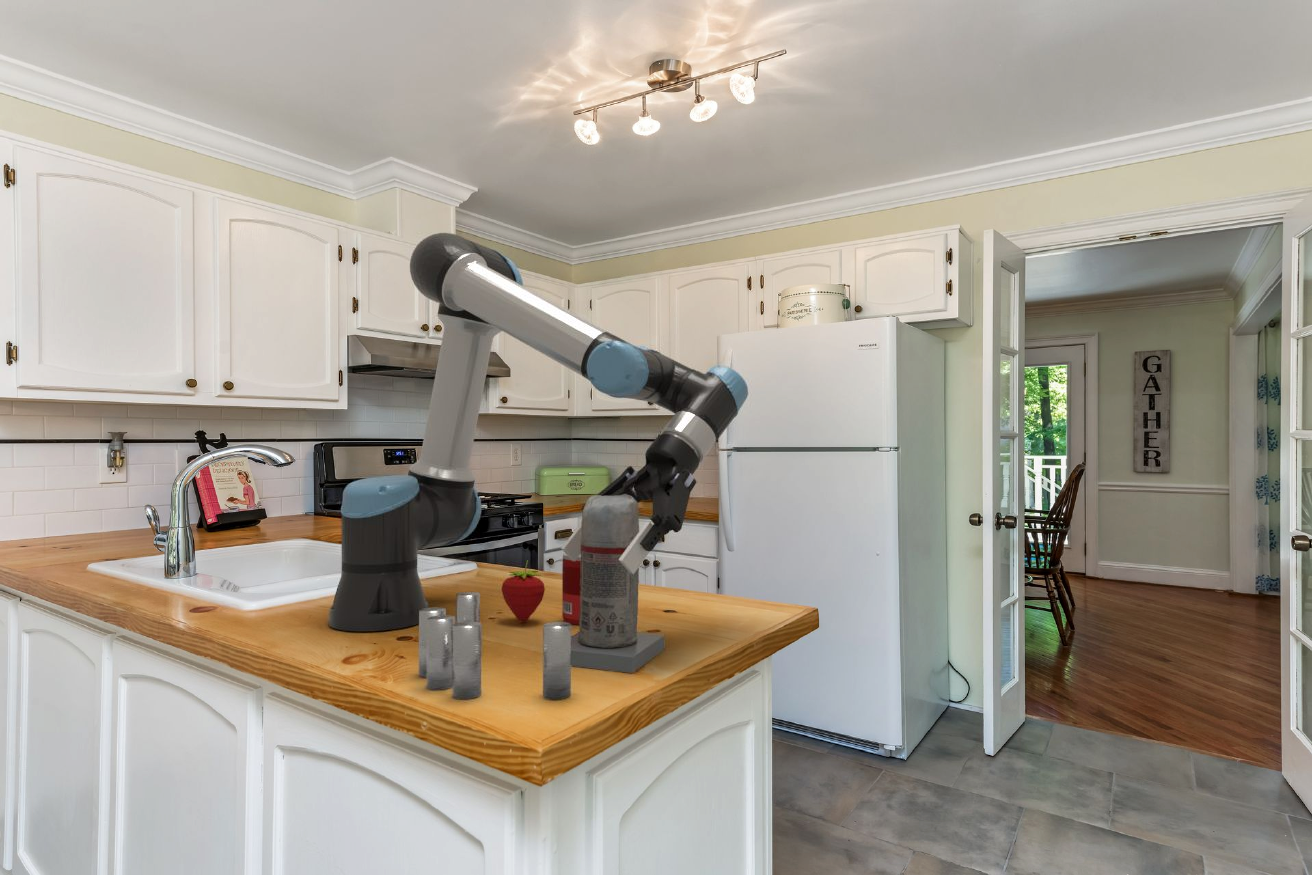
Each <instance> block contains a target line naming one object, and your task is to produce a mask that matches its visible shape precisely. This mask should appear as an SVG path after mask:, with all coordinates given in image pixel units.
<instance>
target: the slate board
mask: <svg viewBox="0 0 1312 875" xmlns="http://www.w3.org/2000/svg"><path fill="white" fill-rule="evenodd" d="M636 635H637V641H635V643H633V644H630V645H627V646H624V647H610V648H606V647H604V648H602V647H595V646H588V645H587V644H586V645H585V644H583V643H581V642H580V641H579V640H578V637H579V631H578V632H577V633H575V634H573V635H571V667H578V668H584V669H585V668H586V669H592V670H593V669H595V670H603V671H612V672H618V673H619V672H621V673H628V674H633V673H635V672H636V671H638V670H639V669H640V668H642V667H643V666H644V665H645V664H647V663H648V662H650V661H651V660H652V659H654V658H656V656H658V655H659V654H660V653H662V652H663V651H665V647H666V646H665V644H666V643H665V642H666V641H665V639H666V638H665V637H666V636H665V634H655V633H649V632H648V633H646V632H637V633H636Z"/></svg>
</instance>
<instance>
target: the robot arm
mask: <svg viewBox="0 0 1312 875" xmlns="http://www.w3.org/2000/svg"><path fill="white" fill-rule="evenodd" d="M409 272H410V277H411V280H412V282H413V284H414V286H415V288H416V289H417V290H418V291H419V292H420V293H421V295H423V296H424V297H425V298H427V299H429V300H431V301H433V302H435V303H438V310H437V315H436V316H437V317H438V319H439V320H440V323H442V325H443V333H442V336H441V337H442V338H441V344H440V350H439V355H438V360H437V366H436V370H435V376H434V382H433V386H432V392H431V398H430V402H429V409H428V414H427V420H426V424H425V431H424V436H423V441H422V447H421V451H420V457H419V459H418V460H417V461H416V462H414V463H413V464H411V465H410V466H409V468H408V473H407V474H404V475H403V474H399V475H395V474H394V475H384V476H375V477H374V476H373V477H367V478H362V479H358V480H354V481H352V482H350V483H348V484H347V485H346V486H345V488H344V489H343V491H342V502H341V503H342V504H341V507H340V513H341V572H340V574H341V575H340V579H339V582H338V584H337V588H336V591H335V595H334V598H333V602H332V605H331V606H330V609H329V611H328V626H329V627H331V628H332V629H335V630H341V631H345V632H347V631H348V632H379V631H389V630H397V629H403V628H408V627H412V626H416V625H419V610H421V609H424V608H429V604H428V601H427V600H426V598H425V593H424V590H423V585H422V583H421V580H420V576H419V573H418V552H419V551H418V550H422V549H428V548H429V549H430V548H435V547H446V546H449V545H452V544H455V543H456V542H457V543H458V542H460V541H462V540H464V539H465V538H467V537H469V535H471V534H472V532H474V531H475V529H476V528H477V525H478V524H479V521H480V520H481V515H482V501H481V500H482V499H481V497H480V496H478V494H479V493H478V490H477V489H476V488H475V486H474V485H475V481H476V476H475V475H474V473H473V472H472V470H471V469H470V463H471V456H472V452H473V451H472V450H473V446H474V441H475V435H476V431H477V430H476V429H477V425H478V420H479V413H480V410H481V409H480V408H481V404H482V398H483V394H484V387H485V382H486V378H487V374H488V373H487V372H488V366H489V362H490V357H491V352H492V346H493V340H494V338H495V336H497V335H498V334H500V333H501V332H503V333H506V334H507V335H509V336H510V337H513V338H514V339H516V340H518V341H519V342H521V343H523V344H525V345H526V346H529V347H530V348H532V349H533V350H535V351H537V352H539V353H540V354H542V355H544V356H546V357H548V358H550V359H551V360H553V361H555V362H557V363H559V364H561V365H562V366H564V367H565V368H566V369H569V370H571V371H572V372H574V373H576V374H578V375H579V376H581V377H583V378H585V379H587V380H588V381H589V382H590V383H591V385H592V386H593V387H594V388H595V389H596V391H599V392H601V393H603V394H605V395H607V396H610V397H612V398H616V399H630V400H631V399H632V400H637V401H643V402H649V403H653V404H654V405H657V406H658V407H662V408H663V409H665V410H668V411H669V412H671V413H673V414H674V415H673V416H672V418H671V419H670V420H669V421H668V422H667V424H666V425H665V426H664V428H662V430H661V431H660V434H659V435H657V437H656V438H655V439H654V440H653V442H652V443H651V444H650V445H649V447H648V448H647V450H646V451H645V465H644V466H643V467H642V468H641V469H639V470H635V468H633V466H628V467H626V469H624V471H623V472H622V473H621V474H620V475H619V476H618V477H617V478H616V479H614V480H613V481H612V482H611V483H610V484H609V485H607V486H606V487H604V488H603V489H602V490H601V491H600V492H598V493H597V494H596V495H601V496H614V495H623V494H627V495H630V496H632V497H633V498H634V499H635V500H636V501H637V502H638V504H639V503H640V502H642V501H647V500H648V501H649V500H650V501H651V502H652V515H651V516H650V517H649V519H650V521H646V522H645V523H644V524H643V526H642V527H641V529H639V533H638V534H637V535H636V537H635V538H634V539H633V541H632V542H631V543H630V545H629V546H628V547H627V549H626V550H625V552H624V553H623V554H622V556H621V557H620V558H619V561H620V562H621V563H622V565H623V566H624V567H625V568H626V569H627V570H628V571H629V573H631V574H634V573H635V572H636V570H637V569H638V567H639V568H640V566H641V565H642V563H643V562H644V561H645V560H646V558H647V556H648V555H649V554H650V552H652V551H653V550H654V548H655V547H657V546H656V545H657V544H658V543H659V542H660V540H661V539H662V537H663V536H665V535H668V534H669V532H670V531H673V532H674V533H679V532H680V531H681V530H682V528H683V524H684V520H685V516H686V512H687V508H688V504H689V500H690V497H691V493H692V491H693V489H694V487H695V486H696V484H697V480H696V479H695V477H694V476H693V475H694V473H695V472H696V471H697V470H698V467H699V465H700V464H701V463H702V462H703V460H705V458H706V456H707V455H708V454H709V452H710V451H711V449H712V448H713V447H714V445H715V444H716V443H717V441H718V440H719V438H720V437H721V436H722V435H723V433H724V432H725V430H726V429H727V428H728V427H729V425H730V424H731V423H732V421H733V420H734V419H735V418H736V417H737V416H738V414H739V411H740V410H741V408H742V407H743V405H744V403H745V402H746V400H747V399H748V396H749V387H748V384H747V382H746V381H745V379H744V378H743V376H742V375H741V374H740V373H739V372H738V371H736V370H735V369H733V368H732V367H729V366H726V365H724V366H720V365H714V366H712V367H711V368H710V369H709V370H707V371H706V372H705V373H703V372H702V371H699V370H696V369H694V368H691V367H688V366H686V365H685V364H683V363H681V362H678V361H676V360H674V359H672V358H670V357H668V356H666V355H664V354H662V353H661V352H660V351H657V350H654V349H652V348H648V347H645V346H644V345H637V346H636V345H634V344H631V343H630V342H628V341H627V340H626V341H625V340H624V339H622V338H620V337H619V336H616V335H615V334H613V333H610V332H609V331H607V330H606V329H603V328H601V327H600V326H597V325H596V324H594V323H593V322H590V321H589V320H587V319H585V318H583V317H581V316H579V315H577V314H576V313H573V312H572V311H570V310H568V309H566V308H564V307H562V306H561V305H558V303H555V302H553V301H552V300H550V299H547V298H546V297H544V296H542V295H541V294H538V293H537V292H535V291H534V290H533V291H532V290H531V289H529V288H527V287H526V286H524V283H523V279H522V278H523V277H522V275H521V273H520V270H519V269H518V267H517V265H516V264H515V263H514V262H513V261H512V260H511V259H510V258H508V257H506V256H505V255H503V254H502V253H501V252H500V251H497V250H495V249H492V248H490V247H487V246H485V245H481V244H479V243H477V242H475V241H473V240H469V239H467V238H465V237H463V236H461V235H458V234H455V233H451V232H438V233H434V234H431V235H428V236H426V237H425V238H423V239H422V240H421V241H419V243H418V244H417V245H416V246H415V247H414V250H413V251H412V254H411V256H410V262H409ZM585 505H586V503H585V504H584V505H583V506H582V507H581V510H582V512H583V509H584V507H585ZM651 522H652V523H653V524H652V523H651ZM581 523H582V521H580V523H579V525H578V526H577V527H576V529H575V530H574V532H572V533H571V535H570V536H569V538H568V539H567V540H566V541H565V542H564V544H563V545H562V546H561V547H560V549H561V550H562V552H563V553H566V555H567V556H568V557H569V558H570V559H571V560H572V561H576V559H577V558H578V557H579V556H580V554H581V551H580V549H581Z"/></svg>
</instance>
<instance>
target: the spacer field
mask: <svg viewBox="0 0 1312 875" xmlns="http://www.w3.org/2000/svg"><path fill="white" fill-rule="evenodd" d="M455 596H456V602H455V603H456V604H455V608H456V611H455V612H456V613H455V616H454V615H449V614H447V612H446V611H447V609H446V608H445V607H439V606H438V607H437V606H436V607H435V606H434V607H428V608H424V609H421V610H419V624H418V676H419V677H420V678H423V679H426V688H427V689H428V690H433V691H442V690H443V691H444V690H448V689H451V688H452V690H451V691H452V697H453V698H454V699H458V700H470V699H475V698H479V697H480V696H481V695H482V643H483V642H482V641H483V640H482V631H483V630H482V629H483V628H482V622H481V617H480V616H481V593H480V592H478V591H464V592H458V593H456V595H455ZM542 626H543V628H542V637H543V638H542V697H543V698H544V699H547V700H550V701H551V700H553V701H554V700H555V701H556V700H565V699H568V698H569V697H571V695H572V690H571V689H572V684H571V683H572V666H571V636H572V624H570V623H566V622H565V621H552V622H546V623H544V624H543V625H542Z"/></svg>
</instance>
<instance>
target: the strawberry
mask: <svg viewBox="0 0 1312 875" xmlns="http://www.w3.org/2000/svg"><path fill="white" fill-rule="evenodd" d="M528 563H529V560H526V564H525V569H524V571H521V570H520V571H519V570H518V571H509V573H510V574H509V575H508V576H511V577H508V578H506V579H505V580H504V581H503V582H502V585H501V593H502V597H503V600H504V602H505V603H506V605H507V606H508V608H509V610H510V611H511V612H512V614H513V615H514V616H515V617H516V620H518V622H519V623H526V622H528V620H529V619H530V617H531V616H532V615H533V614H534V613H535V611H536V610H537V609H538V607H539V606H540V604H541V602H542V601H543V599H544V594H545V591H546V588H545V584H544V582H543V580H541V578H538V577H539V576H542V575H541V574H540V573H539V571H538V570H528V571H527V568H528ZM538 573H539V574H538ZM536 576H538V577H536Z"/></svg>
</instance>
